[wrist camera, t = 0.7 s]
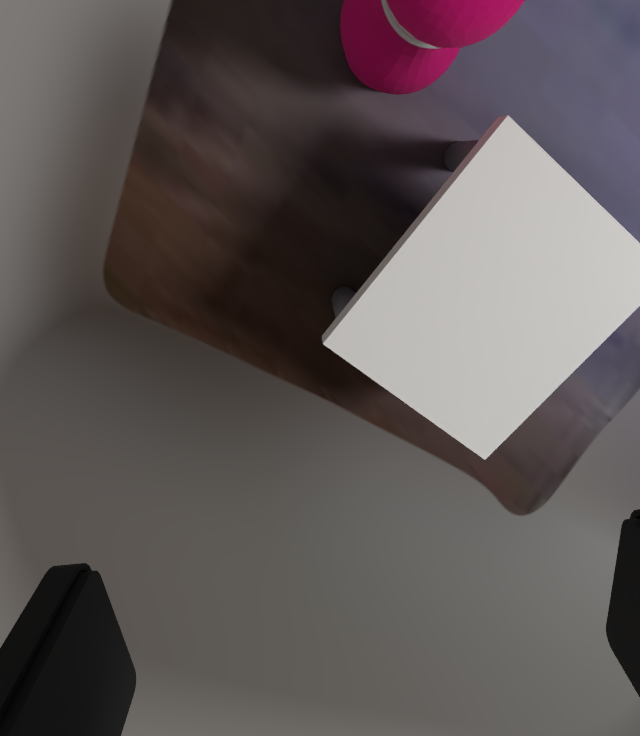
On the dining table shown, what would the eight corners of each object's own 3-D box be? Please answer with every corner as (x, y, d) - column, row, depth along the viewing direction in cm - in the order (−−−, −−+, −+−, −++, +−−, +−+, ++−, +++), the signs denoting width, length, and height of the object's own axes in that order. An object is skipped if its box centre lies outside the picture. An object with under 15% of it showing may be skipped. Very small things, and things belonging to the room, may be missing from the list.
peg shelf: (457, 124, 37) (507, 115, 28) (589, 247, 40) (671, 274, 31) (317, 303, 41) (322, 343, 32) (447, 399, 45) (484, 459, 36)
